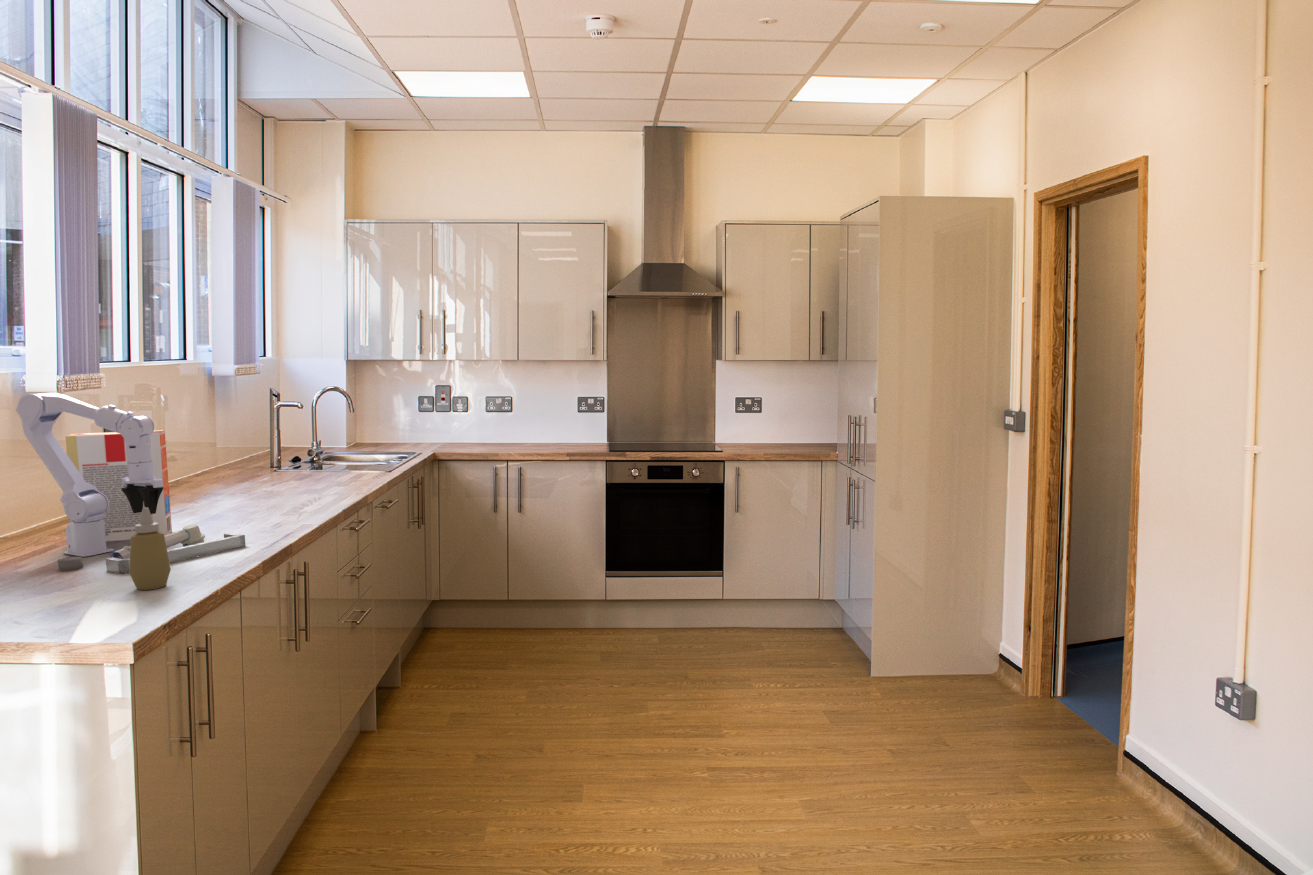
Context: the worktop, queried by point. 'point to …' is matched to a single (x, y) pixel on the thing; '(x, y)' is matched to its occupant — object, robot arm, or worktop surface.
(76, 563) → the smooth gray pebble
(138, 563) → the squeeze bottle
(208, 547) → the curved pull handle
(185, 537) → the white handheld wand
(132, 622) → the worktop surface
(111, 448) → the pasta box
